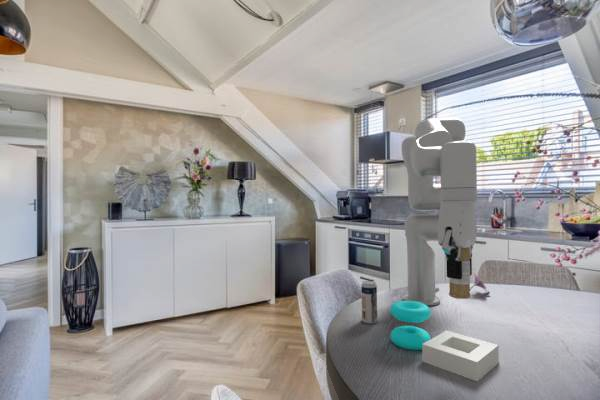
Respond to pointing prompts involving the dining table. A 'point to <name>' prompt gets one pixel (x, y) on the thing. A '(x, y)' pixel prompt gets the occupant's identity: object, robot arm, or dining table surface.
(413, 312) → the donuts
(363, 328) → the dining table surface
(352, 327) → the dining table surface
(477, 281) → the lily
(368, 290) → the beer can
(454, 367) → the socket block
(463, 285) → the sprinkles bottle
